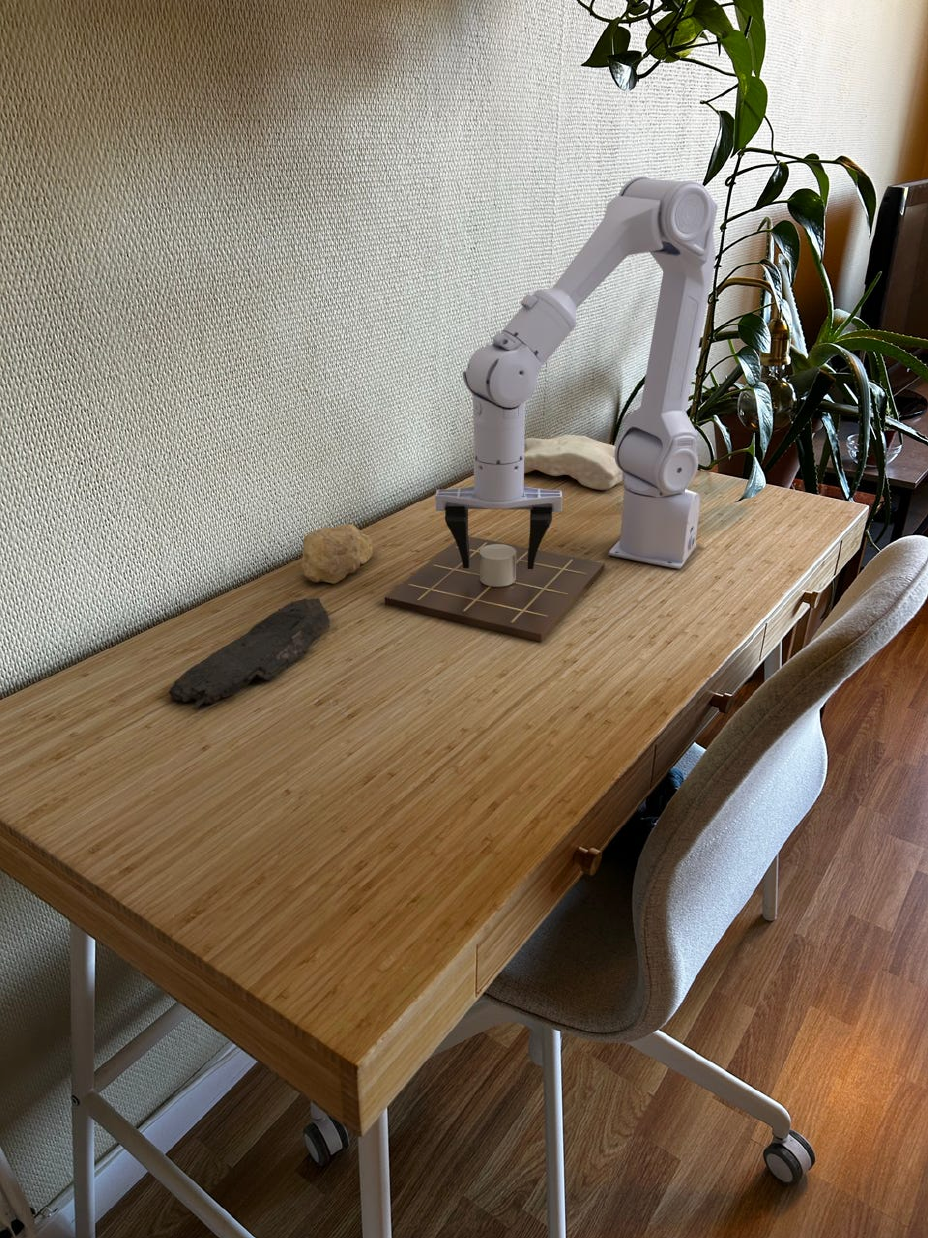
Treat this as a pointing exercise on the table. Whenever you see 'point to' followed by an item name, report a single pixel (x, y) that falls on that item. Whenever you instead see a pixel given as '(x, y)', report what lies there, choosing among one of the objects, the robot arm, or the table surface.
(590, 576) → the board
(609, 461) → the decorative stone
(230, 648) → the wood
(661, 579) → the table surface
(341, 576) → the stone tool
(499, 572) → the cream short cylinder
